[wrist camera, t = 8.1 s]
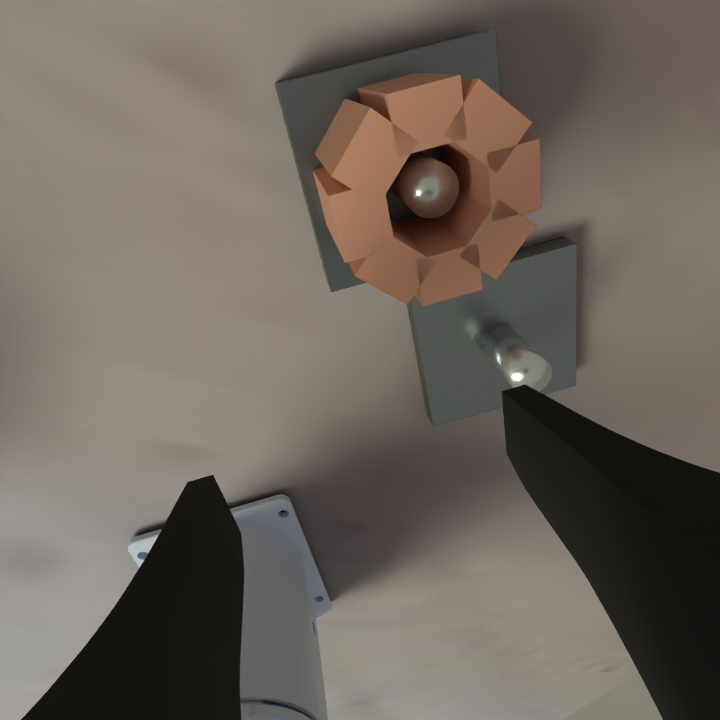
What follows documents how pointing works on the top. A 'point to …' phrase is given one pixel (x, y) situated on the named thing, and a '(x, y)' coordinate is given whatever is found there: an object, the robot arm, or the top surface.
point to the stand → (500, 334)
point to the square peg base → (330, 87)
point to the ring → (460, 152)
